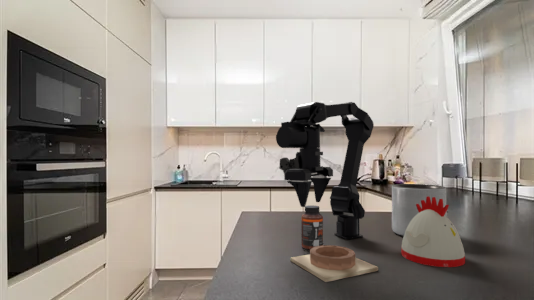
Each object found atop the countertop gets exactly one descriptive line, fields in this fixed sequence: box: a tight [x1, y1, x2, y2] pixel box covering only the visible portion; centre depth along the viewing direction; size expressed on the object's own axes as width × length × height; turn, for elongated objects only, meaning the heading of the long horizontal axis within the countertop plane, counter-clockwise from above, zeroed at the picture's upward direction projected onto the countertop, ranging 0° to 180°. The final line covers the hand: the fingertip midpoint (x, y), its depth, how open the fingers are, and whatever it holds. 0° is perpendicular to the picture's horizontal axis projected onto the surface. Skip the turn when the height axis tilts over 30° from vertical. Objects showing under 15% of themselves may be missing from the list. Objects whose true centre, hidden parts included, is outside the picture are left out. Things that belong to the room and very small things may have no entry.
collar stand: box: [290, 244, 379, 283], centre depth 70 cm, size 14×14×3 cm
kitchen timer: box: [400, 196, 466, 268], centre depth 76 cm, size 14×14×15 cm
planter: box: [391, 183, 448, 237], centre depth 99 cm, size 16×16×16 cm
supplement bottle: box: [300, 205, 324, 251], centre depth 85 cm, size 6×6×11 cm
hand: (310, 204), depth 85 cm, fingers open, 9 cm apart
